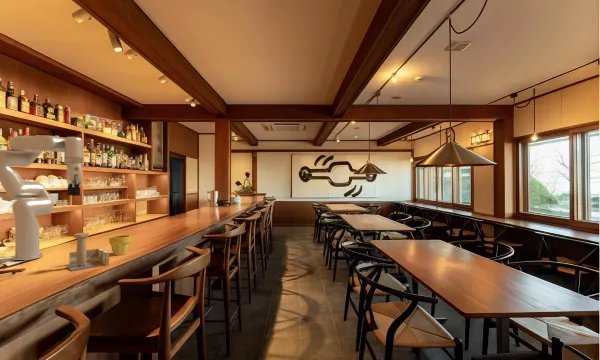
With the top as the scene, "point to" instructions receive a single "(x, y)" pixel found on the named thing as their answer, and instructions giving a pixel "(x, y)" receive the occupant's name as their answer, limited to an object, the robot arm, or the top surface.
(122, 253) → the plant pot
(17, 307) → the top surface
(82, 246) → the handle
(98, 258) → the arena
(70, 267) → the coaster
